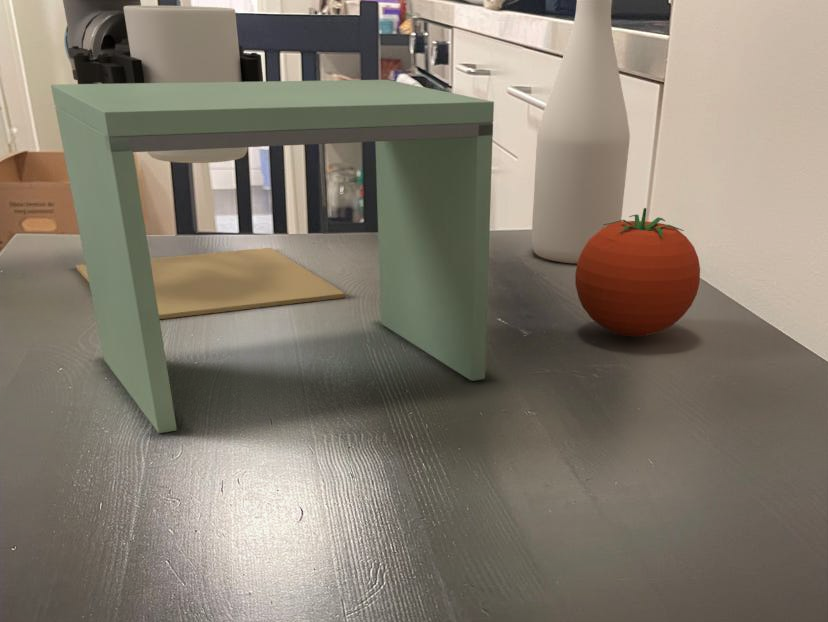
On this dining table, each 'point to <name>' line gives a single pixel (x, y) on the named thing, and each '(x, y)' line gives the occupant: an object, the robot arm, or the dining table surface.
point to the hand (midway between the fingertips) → (198, 79)
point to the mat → (231, 282)
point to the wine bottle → (581, 141)
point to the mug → (186, 57)
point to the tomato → (637, 276)
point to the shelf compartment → (279, 126)
